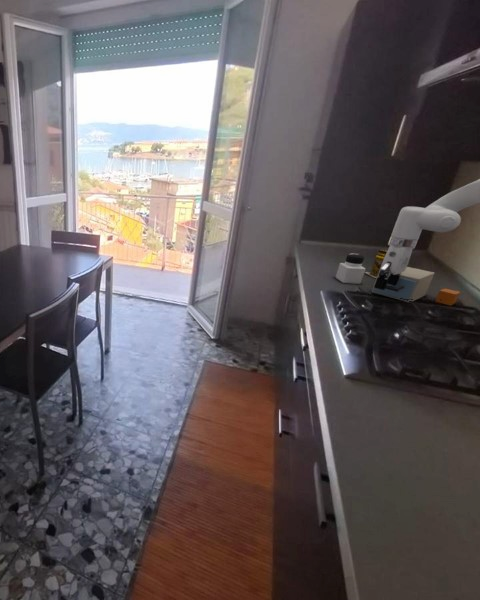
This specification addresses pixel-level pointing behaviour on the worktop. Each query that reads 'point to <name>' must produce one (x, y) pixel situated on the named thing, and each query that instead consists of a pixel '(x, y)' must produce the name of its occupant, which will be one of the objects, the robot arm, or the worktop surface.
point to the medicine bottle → (351, 269)
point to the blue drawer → (398, 288)
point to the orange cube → (447, 296)
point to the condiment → (377, 263)
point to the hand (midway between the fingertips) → (385, 286)
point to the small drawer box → (420, 286)
